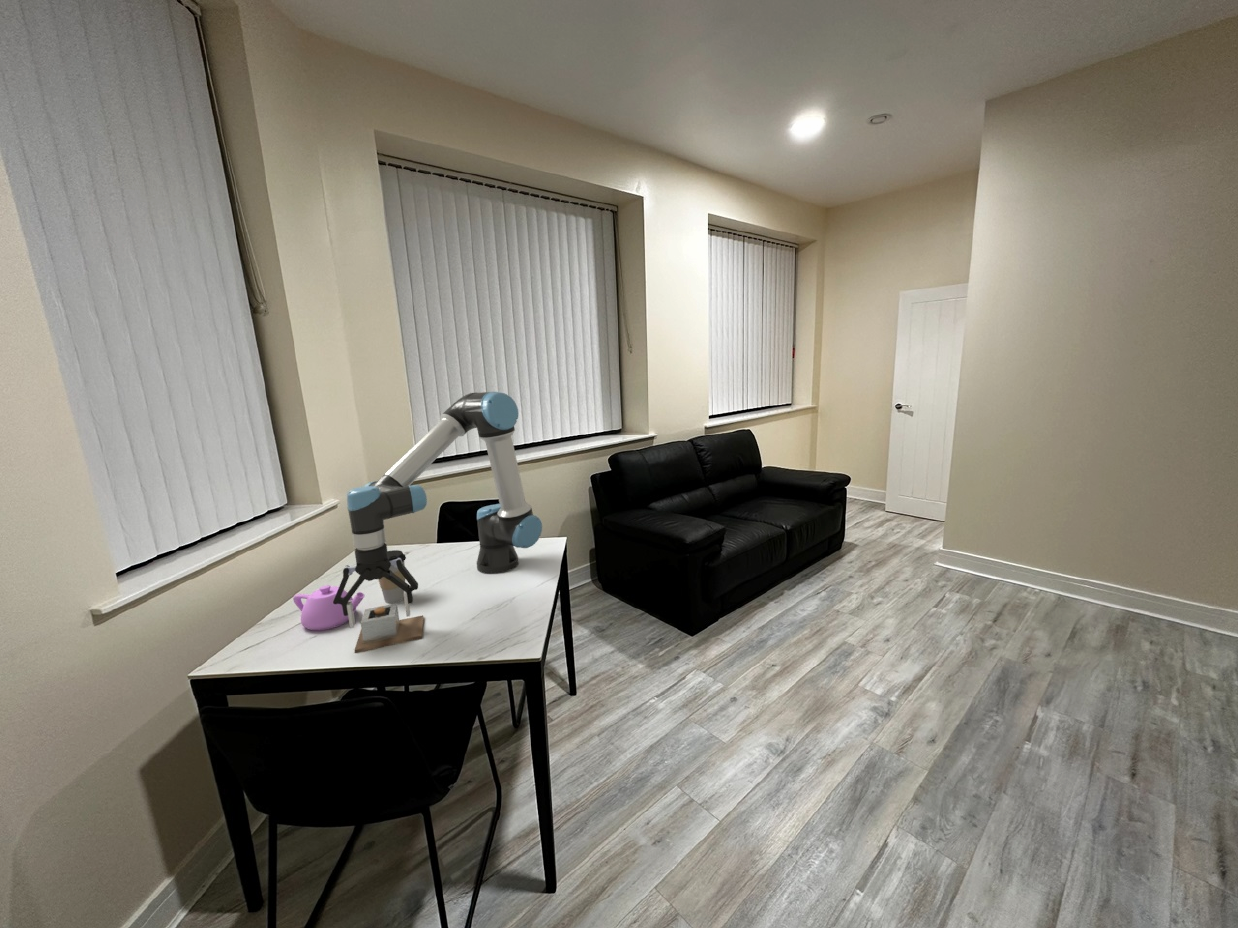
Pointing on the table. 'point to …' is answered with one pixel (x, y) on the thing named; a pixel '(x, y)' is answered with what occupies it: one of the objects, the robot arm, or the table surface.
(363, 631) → the hollow square block
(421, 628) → the keeper
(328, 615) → the teapot
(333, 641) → the table surface
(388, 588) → the coffee cup
